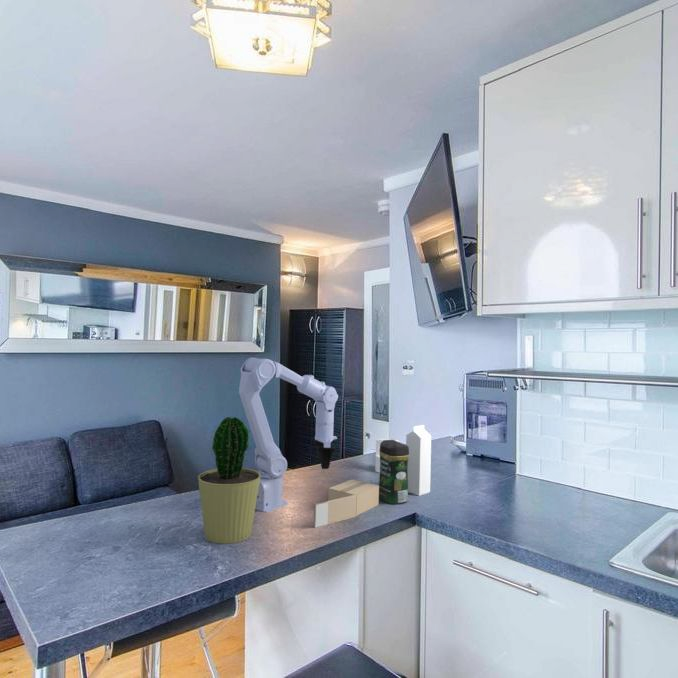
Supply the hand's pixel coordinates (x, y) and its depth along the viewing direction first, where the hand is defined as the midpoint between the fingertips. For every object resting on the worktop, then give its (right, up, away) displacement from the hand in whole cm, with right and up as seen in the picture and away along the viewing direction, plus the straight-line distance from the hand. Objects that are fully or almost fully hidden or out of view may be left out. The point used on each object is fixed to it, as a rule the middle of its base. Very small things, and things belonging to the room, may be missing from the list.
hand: (323, 465), depth 153 cm
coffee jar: (+22, -10, -4) cm, 24 cm away
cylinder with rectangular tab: (+23, -11, +31) cm, 40 cm away
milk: (+31, -11, +6) cm, 33 cm away
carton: (+9, -10, -11) cm, 17 cm away
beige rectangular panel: (+4, -9, -23) cm, 25 cm away
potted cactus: (-23, -9, -33) cm, 41 cm away
